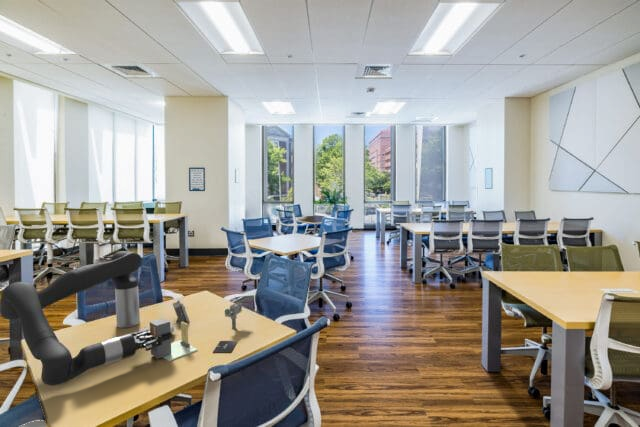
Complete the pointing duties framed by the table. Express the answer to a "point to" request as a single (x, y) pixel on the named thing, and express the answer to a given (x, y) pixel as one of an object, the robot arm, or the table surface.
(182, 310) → the electrical switch
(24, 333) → the robot arm
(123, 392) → the table surface
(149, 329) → the robot toy
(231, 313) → the mechanical component
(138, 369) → the table surface
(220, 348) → the solid state drive
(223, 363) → the table surface
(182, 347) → the board
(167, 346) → the plug block
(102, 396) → the table surface
